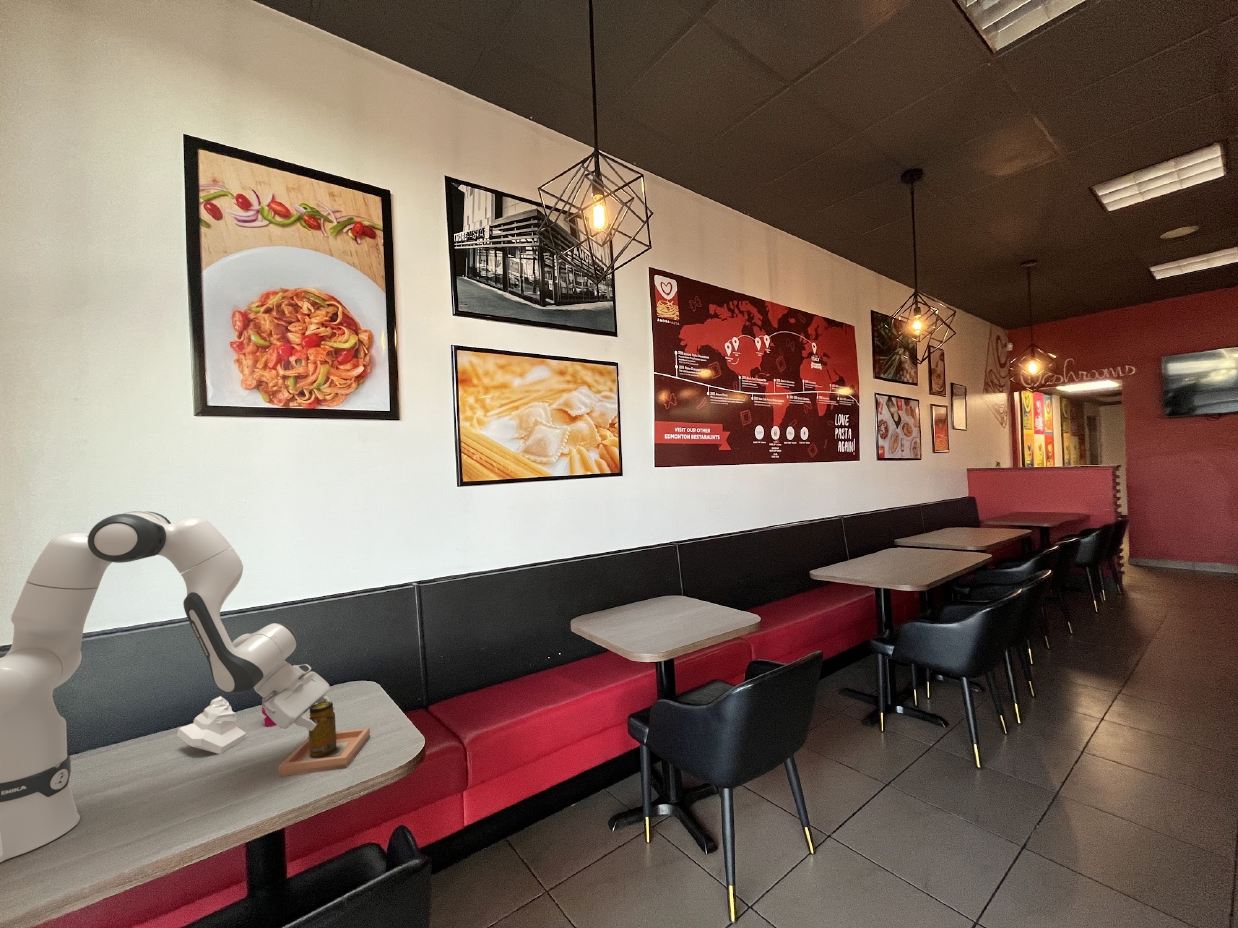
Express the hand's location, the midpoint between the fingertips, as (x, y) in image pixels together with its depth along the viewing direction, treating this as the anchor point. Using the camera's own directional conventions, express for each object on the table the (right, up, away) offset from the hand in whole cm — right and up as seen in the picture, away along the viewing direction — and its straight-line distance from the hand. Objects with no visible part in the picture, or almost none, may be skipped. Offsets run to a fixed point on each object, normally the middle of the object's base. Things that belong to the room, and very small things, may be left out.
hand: (323, 718), depth 131 cm
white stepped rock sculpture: (-36, -13, +10) cm, 39 cm away
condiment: (+1, -9, 0) cm, 9 cm away
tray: (+1, -9, 0) cm, 9 cm away
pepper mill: (-28, -12, +23) cm, 38 cm away
